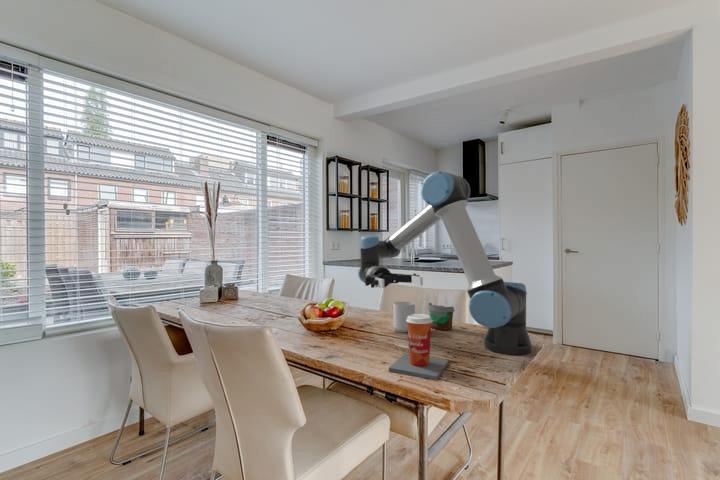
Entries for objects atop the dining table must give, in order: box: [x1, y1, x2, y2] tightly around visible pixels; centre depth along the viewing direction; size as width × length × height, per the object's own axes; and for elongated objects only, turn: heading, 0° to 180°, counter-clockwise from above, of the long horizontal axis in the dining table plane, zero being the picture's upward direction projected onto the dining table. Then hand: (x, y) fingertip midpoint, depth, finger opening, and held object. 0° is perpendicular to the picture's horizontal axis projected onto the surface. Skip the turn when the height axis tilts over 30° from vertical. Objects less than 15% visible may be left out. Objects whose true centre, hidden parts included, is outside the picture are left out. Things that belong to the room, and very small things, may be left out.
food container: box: [426, 302, 455, 332], centre depth 148 cm, size 12×6×10 cm, turn 42°
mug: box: [392, 300, 416, 333], centre depth 148 cm, size 12×9×11 cm
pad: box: [388, 353, 449, 381], centre depth 105 cm, size 14×14×1 cm
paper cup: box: [406, 313, 433, 367], centre depth 105 cm, size 8×8×14 cm
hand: (402, 282), depth 114 cm, fingers open, 13 cm apart
